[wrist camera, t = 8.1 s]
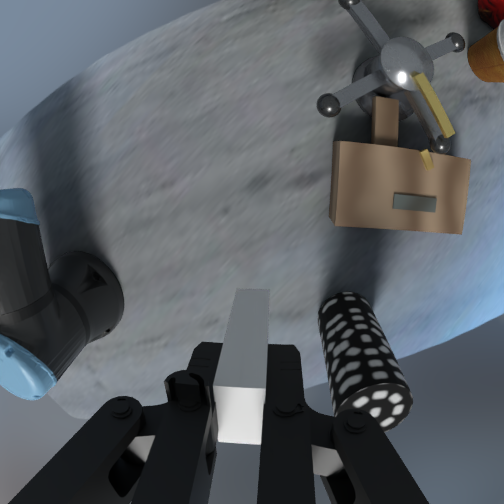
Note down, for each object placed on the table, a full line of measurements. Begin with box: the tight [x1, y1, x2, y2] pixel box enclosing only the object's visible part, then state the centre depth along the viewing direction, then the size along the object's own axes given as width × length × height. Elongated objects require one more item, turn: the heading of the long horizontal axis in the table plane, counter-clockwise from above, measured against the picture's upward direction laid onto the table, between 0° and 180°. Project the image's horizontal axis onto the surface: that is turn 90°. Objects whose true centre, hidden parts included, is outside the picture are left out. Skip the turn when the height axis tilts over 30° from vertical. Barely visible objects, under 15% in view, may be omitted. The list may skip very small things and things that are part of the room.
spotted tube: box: [318, 292, 413, 432], centre depth 37 cm, size 8×8×20 cm
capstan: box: [317, 0, 465, 155], centre depth 30 cm, size 22×22×11 cm
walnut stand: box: [329, 96, 471, 235], centre depth 36 cm, size 18×16×6 cm
